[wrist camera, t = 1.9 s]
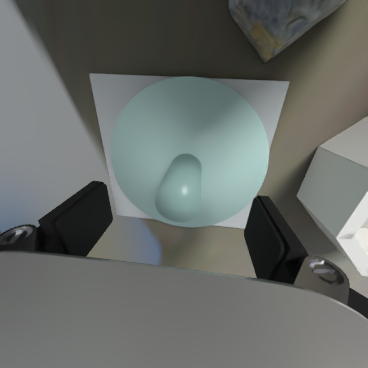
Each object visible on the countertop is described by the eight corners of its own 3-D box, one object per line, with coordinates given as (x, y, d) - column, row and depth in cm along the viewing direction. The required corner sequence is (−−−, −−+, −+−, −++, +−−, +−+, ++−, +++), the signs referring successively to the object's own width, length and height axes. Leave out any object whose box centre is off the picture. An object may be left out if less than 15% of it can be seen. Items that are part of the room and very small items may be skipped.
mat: (92, 73, 13) (89, 73, 13) (287, 81, 12) (289, 81, 12) (118, 213, 20) (116, 215, 19) (245, 226, 19) (245, 228, 18)
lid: (101, 73, 13) (20, 55, 7) (289, 81, 12) (370, 67, 6) (124, 215, 19) (92, 264, 14) (245, 228, 18) (264, 286, 13)
